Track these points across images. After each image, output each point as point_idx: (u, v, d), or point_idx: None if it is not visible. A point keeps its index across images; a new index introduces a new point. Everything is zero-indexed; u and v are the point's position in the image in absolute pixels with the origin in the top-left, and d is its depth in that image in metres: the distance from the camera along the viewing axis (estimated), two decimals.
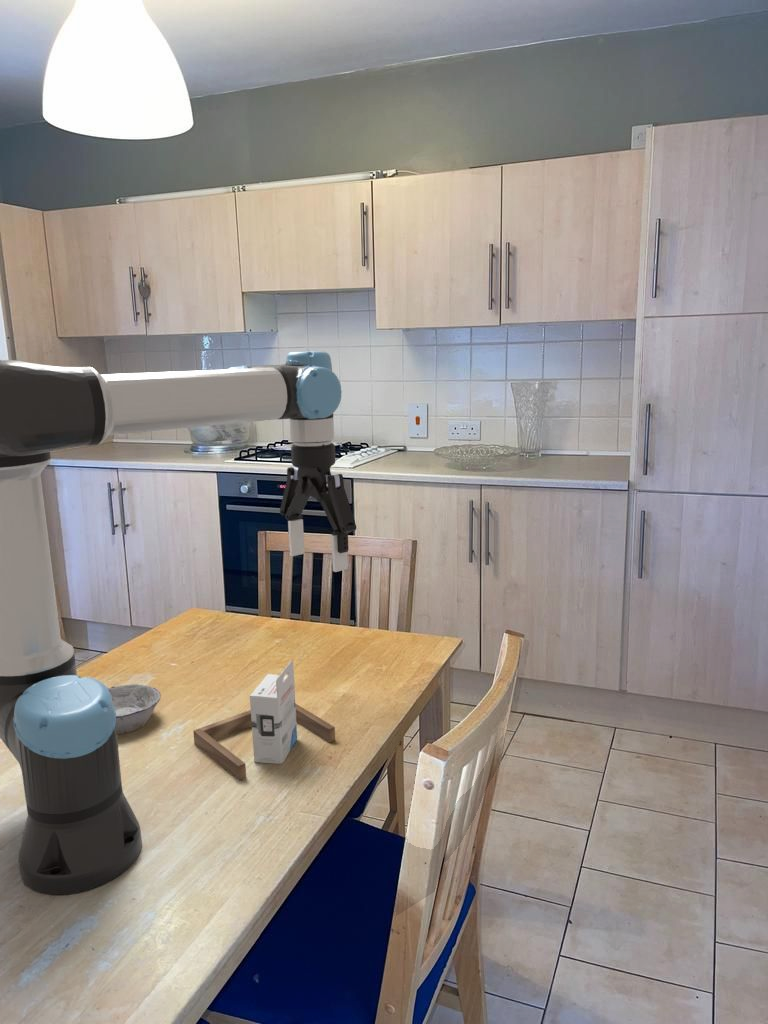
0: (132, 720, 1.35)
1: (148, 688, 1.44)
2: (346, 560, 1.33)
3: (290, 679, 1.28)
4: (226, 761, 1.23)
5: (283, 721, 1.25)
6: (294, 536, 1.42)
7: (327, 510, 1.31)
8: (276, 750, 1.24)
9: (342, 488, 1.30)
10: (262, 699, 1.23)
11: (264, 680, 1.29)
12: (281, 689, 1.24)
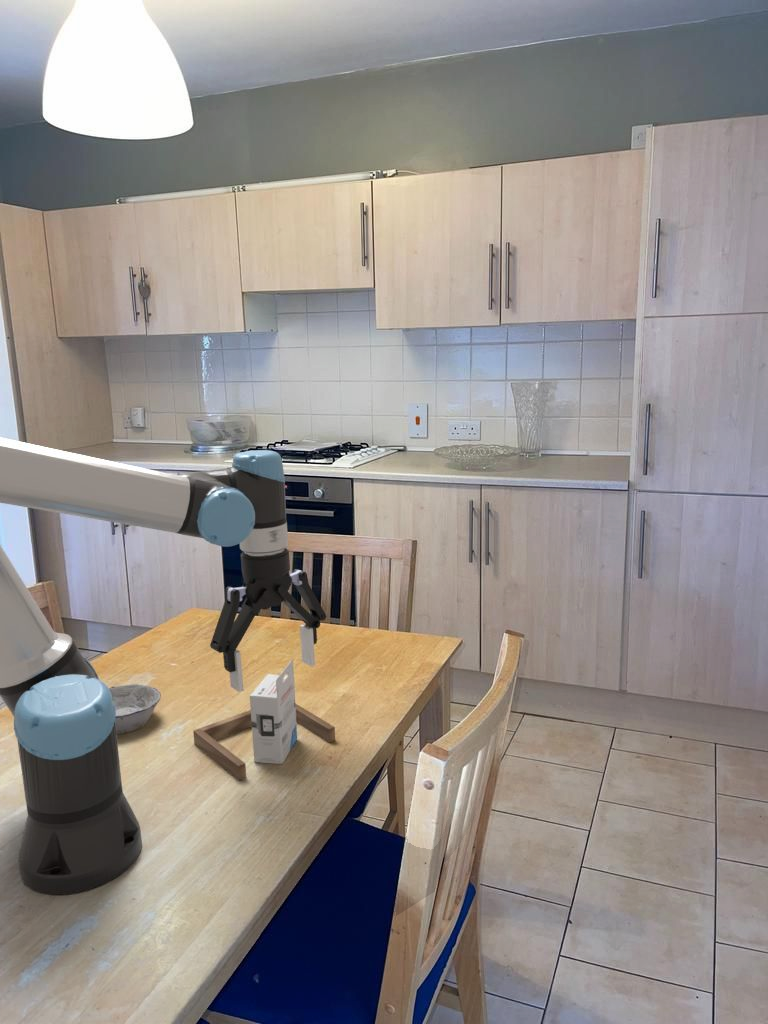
0: (132, 720, 1.35)
1: (148, 688, 1.44)
2: (238, 682, 1.21)
3: (290, 679, 1.28)
4: (226, 761, 1.23)
5: (283, 721, 1.25)
6: (303, 642, 1.30)
7: None
8: (276, 750, 1.24)
9: (231, 605, 1.18)
10: (262, 699, 1.23)
11: (264, 680, 1.29)
12: (281, 689, 1.24)
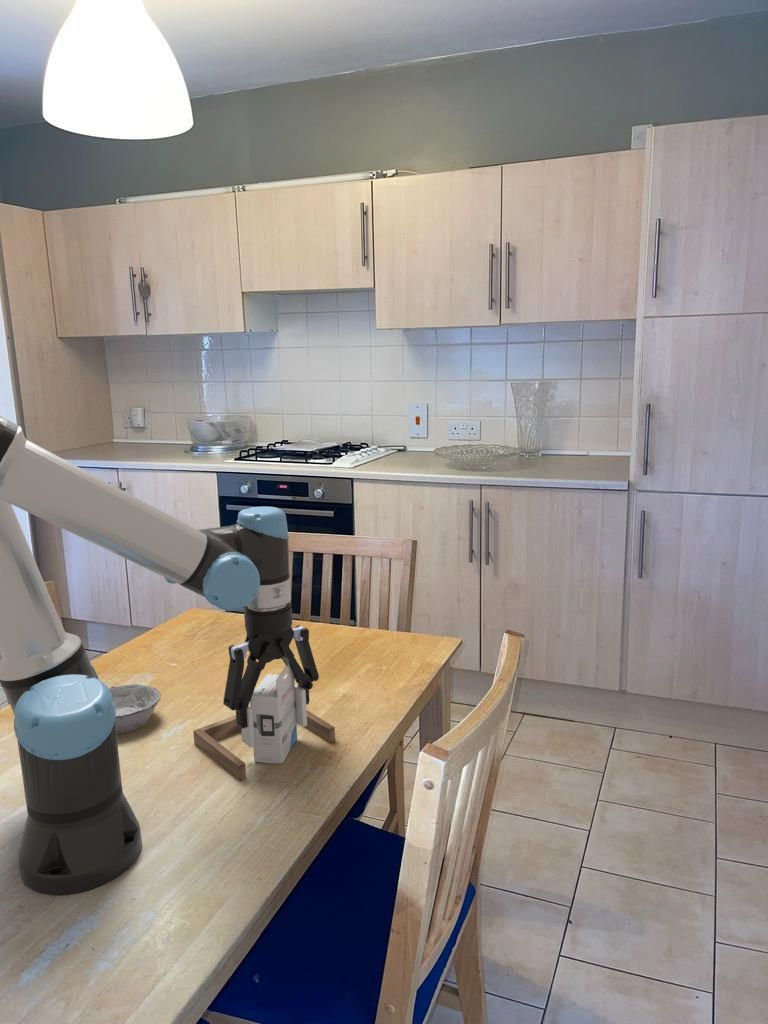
0: (132, 720, 1.35)
1: (147, 688, 1.44)
2: (249, 738, 1.24)
3: (290, 679, 1.28)
4: (226, 761, 1.23)
5: (283, 721, 1.25)
6: (295, 703, 1.31)
7: None
8: (276, 750, 1.24)
9: (236, 664, 1.21)
10: (262, 699, 1.23)
11: (264, 680, 1.29)
12: (281, 689, 1.24)
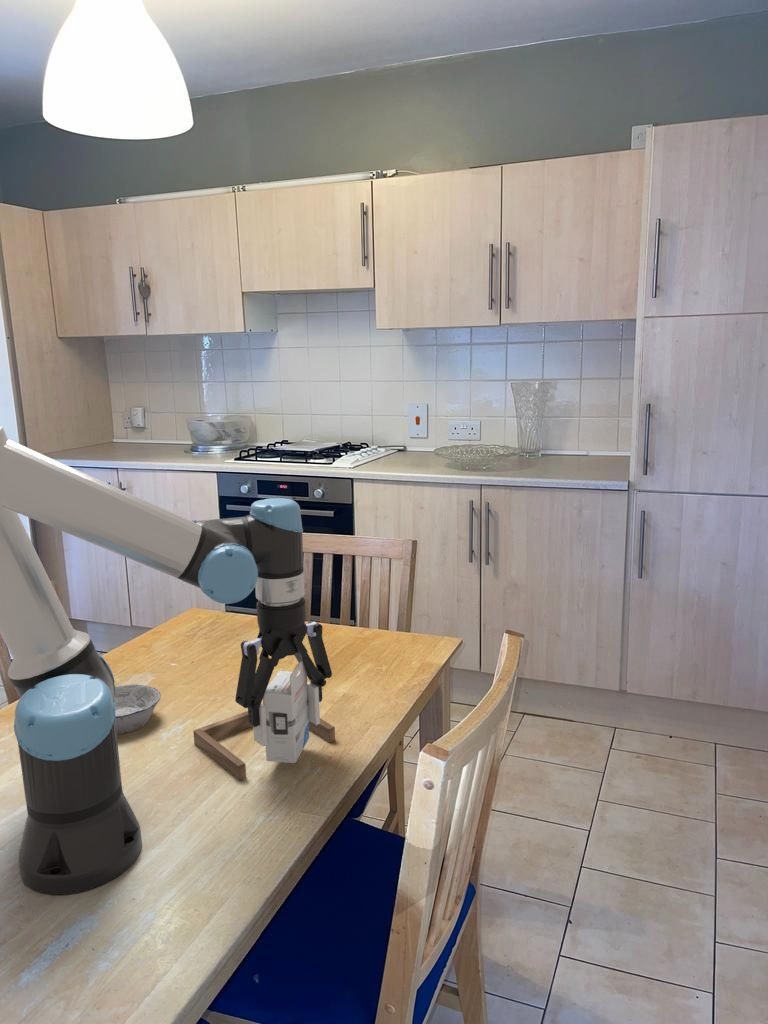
0: (132, 720, 1.35)
1: (147, 688, 1.44)
2: (262, 737, 1.20)
3: (303, 676, 1.25)
4: (226, 761, 1.23)
5: (297, 719, 1.22)
6: (308, 700, 1.28)
7: None
8: (289, 748, 1.21)
9: (249, 660, 1.17)
10: (275, 696, 1.19)
11: (276, 677, 1.25)
12: (294, 686, 1.20)
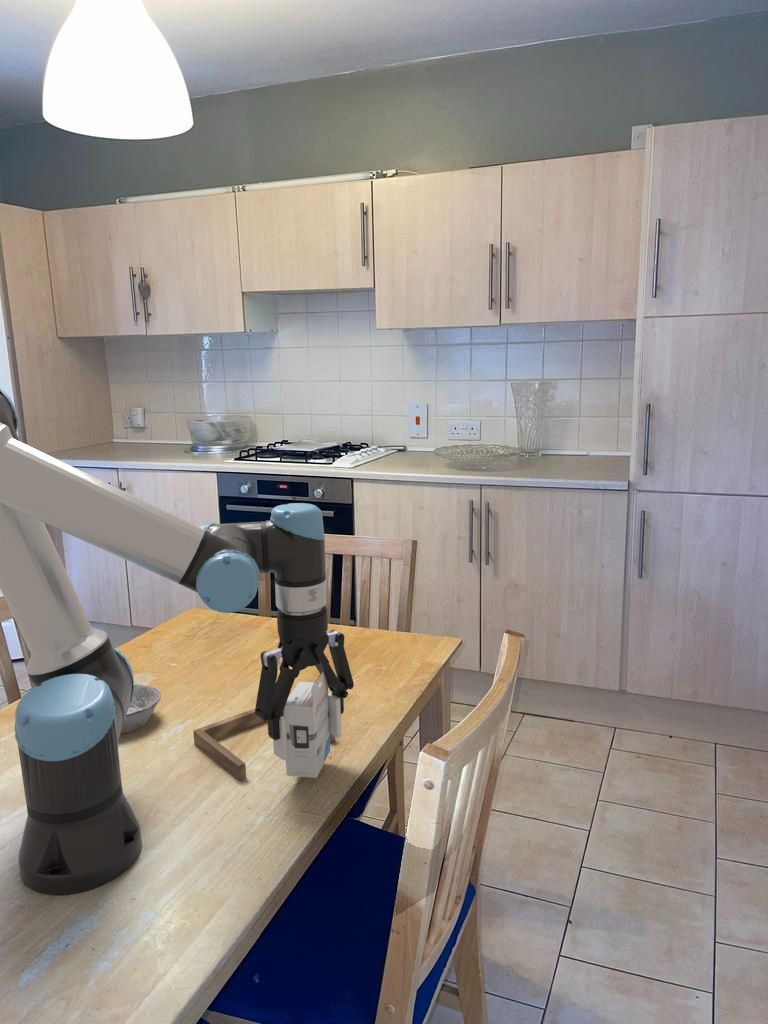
0: (132, 720, 1.35)
1: (147, 688, 1.44)
2: (282, 751, 1.16)
3: (324, 687, 1.20)
4: (226, 761, 1.23)
5: (318, 732, 1.17)
6: (329, 712, 1.23)
7: None
8: (310, 763, 1.17)
9: (269, 671, 1.13)
10: (296, 709, 1.15)
11: (296, 688, 1.21)
12: (316, 698, 1.16)
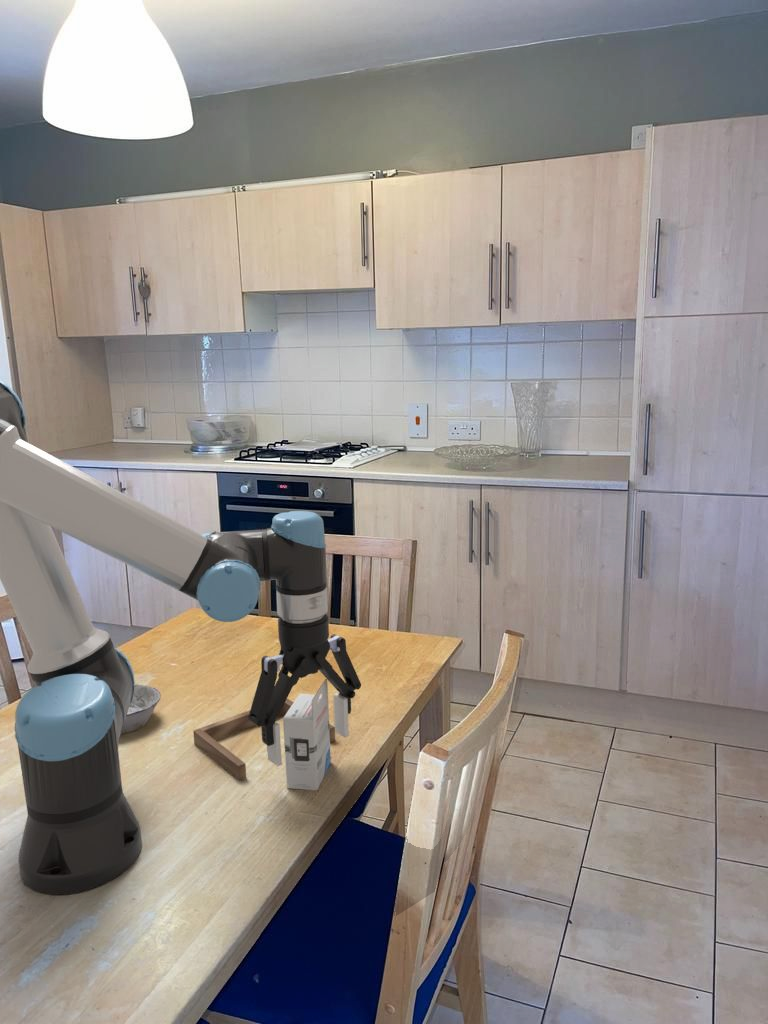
0: (132, 720, 1.35)
1: (147, 688, 1.44)
2: (276, 756, 1.15)
3: (324, 699, 1.20)
4: (226, 761, 1.23)
5: (318, 745, 1.17)
6: (336, 712, 1.24)
7: None
8: (311, 775, 1.17)
9: (268, 676, 1.13)
10: (296, 722, 1.15)
11: (297, 700, 1.21)
12: (316, 711, 1.16)
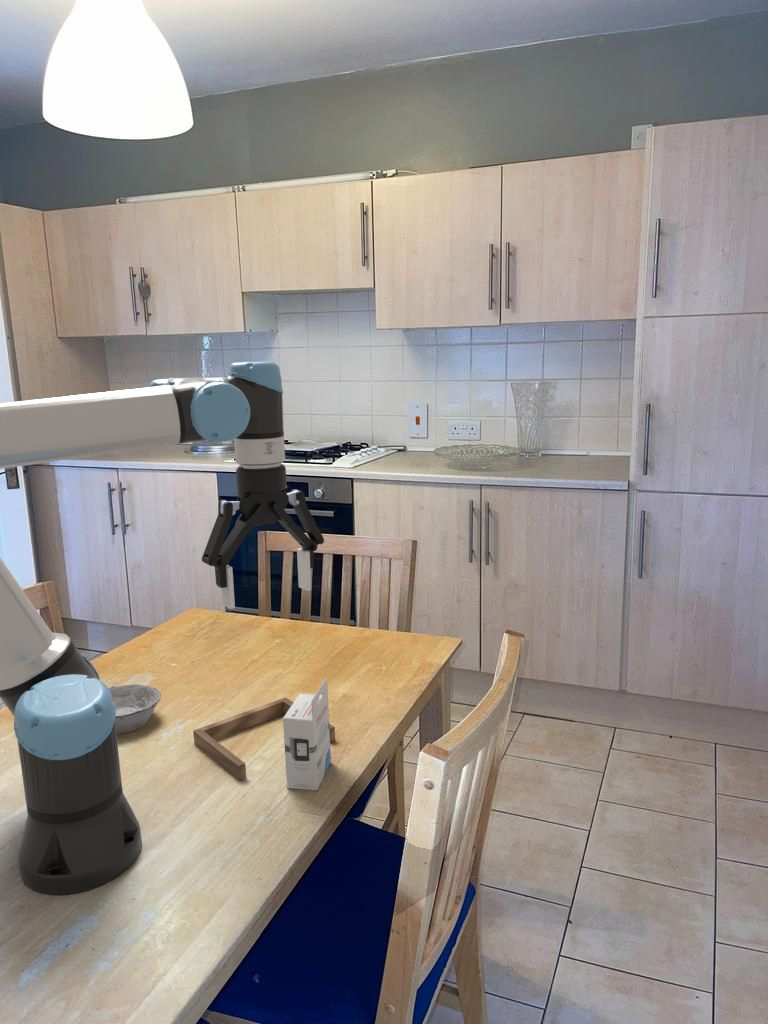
0: (132, 720, 1.35)
1: (148, 688, 1.44)
2: (229, 599, 1.18)
3: (324, 699, 1.21)
4: (226, 761, 1.23)
5: (318, 745, 1.17)
6: (300, 566, 1.27)
7: None
8: (311, 775, 1.17)
9: (223, 517, 1.15)
10: (296, 722, 1.15)
11: (297, 700, 1.21)
12: (316, 711, 1.16)
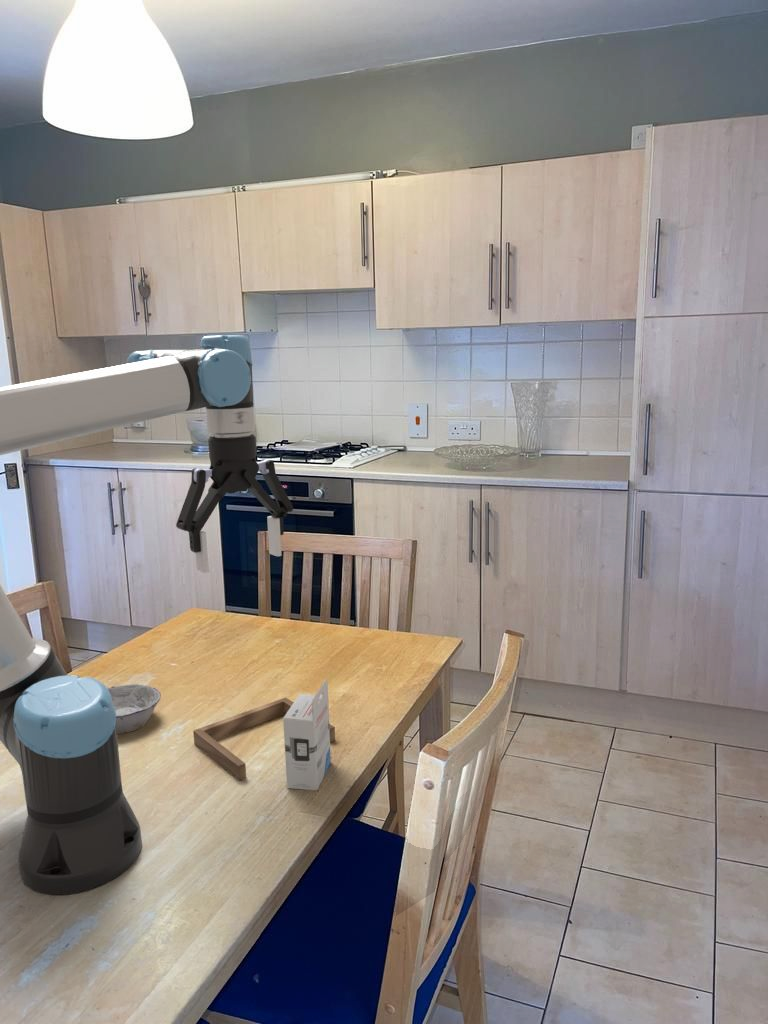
0: (132, 720, 1.35)
1: (148, 688, 1.44)
2: (203, 563, 1.23)
3: (325, 699, 1.21)
4: (226, 761, 1.23)
5: (318, 745, 1.17)
6: (270, 533, 1.32)
7: None
8: (311, 775, 1.17)
9: (196, 484, 1.21)
10: (296, 721, 1.15)
11: (297, 700, 1.21)
12: (316, 711, 1.16)
